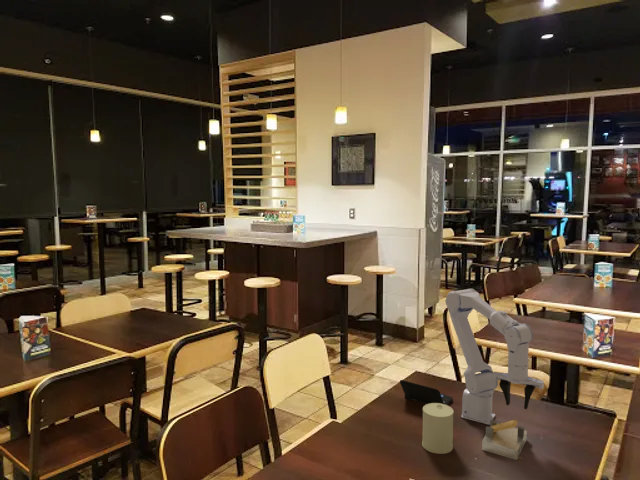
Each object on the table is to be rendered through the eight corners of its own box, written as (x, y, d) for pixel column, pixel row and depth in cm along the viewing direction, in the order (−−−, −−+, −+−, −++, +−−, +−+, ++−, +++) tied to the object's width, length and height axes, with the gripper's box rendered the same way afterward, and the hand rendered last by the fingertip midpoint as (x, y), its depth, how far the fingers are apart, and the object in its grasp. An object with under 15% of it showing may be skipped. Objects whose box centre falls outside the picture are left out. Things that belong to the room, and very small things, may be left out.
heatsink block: (481, 449, 144) (482, 432, 143) (493, 431, 154) (493, 415, 154) (517, 460, 138) (517, 442, 137) (526, 440, 149) (527, 423, 148)
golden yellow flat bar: (489, 433, 147) (487, 430, 147) (492, 429, 149) (490, 426, 150) (515, 426, 142) (513, 423, 143) (517, 422, 145) (515, 419, 145)
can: (453, 440, 149) (454, 403, 148) (451, 456, 140) (452, 417, 139) (423, 435, 152) (424, 399, 151) (420, 450, 143) (420, 412, 142)
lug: (517, 435, 146) (517, 428, 145) (518, 433, 147) (518, 425, 147) (523, 437, 145) (523, 429, 145) (524, 434, 146) (524, 427, 146)
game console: (454, 400, 177) (454, 377, 175) (438, 415, 166) (438, 390, 165) (415, 390, 186) (416, 367, 185) (398, 402, 175) (398, 379, 174)
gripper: (490, 363, 149) (489, 405, 150) (541, 372, 140) (540, 416, 142) (496, 356, 154) (495, 397, 156) (545, 364, 146) (544, 407, 148)
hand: (517, 405), depth 149 cm, fingers open, 5 cm apart
